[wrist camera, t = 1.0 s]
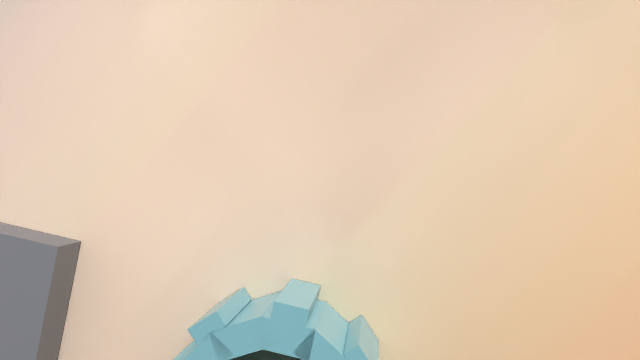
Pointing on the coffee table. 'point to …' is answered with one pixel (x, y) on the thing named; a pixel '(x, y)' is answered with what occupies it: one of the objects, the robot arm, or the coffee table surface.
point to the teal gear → (280, 328)
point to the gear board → (34, 291)
